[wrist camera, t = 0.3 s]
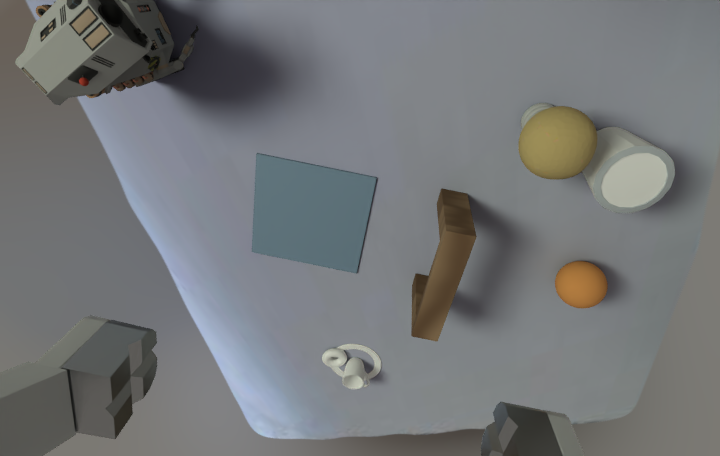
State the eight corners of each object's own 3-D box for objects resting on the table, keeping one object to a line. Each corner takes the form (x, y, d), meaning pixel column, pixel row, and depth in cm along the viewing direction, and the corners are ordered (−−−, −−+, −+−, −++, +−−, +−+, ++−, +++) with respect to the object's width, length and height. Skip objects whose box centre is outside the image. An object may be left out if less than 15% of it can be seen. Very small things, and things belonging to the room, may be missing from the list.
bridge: (412, 285, 58) (411, 336, 50) (441, 188, 50) (445, 230, 43) (434, 289, 58) (437, 341, 50) (467, 193, 50) (476, 237, 43)
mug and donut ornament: (316, 349, 67) (310, 371, 64) (358, 331, 64) (355, 352, 61) (350, 384, 70) (346, 406, 67) (391, 367, 67) (390, 389, 64)
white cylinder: (605, 193, 49) (631, 226, 43) (556, 161, 47) (576, 191, 41) (657, 143, 45) (694, 171, 39) (606, 107, 44) (636, 131, 38)
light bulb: (514, 84, 44) (537, 115, 35) (580, 90, 43) (620, 122, 35) (499, 146, 47) (518, 187, 39) (561, 151, 47) (593, 194, 38)
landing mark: (257, 153, 51) (256, 153, 50) (376, 177, 51) (376, 178, 50) (252, 251, 58) (251, 252, 58) (356, 272, 58) (356, 273, 58)
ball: (560, 247, 53) (574, 276, 48) (606, 257, 53) (624, 286, 48) (542, 283, 56) (554, 312, 51) (585, 291, 56) (601, 322, 51)
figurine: (234, 52, 45) (162, 90, 32) (140, 83, 48) (40, 128, 35) (193, -48, 41) (91, -50, 28) (92, -8, 44) (-41, 6, 31)
